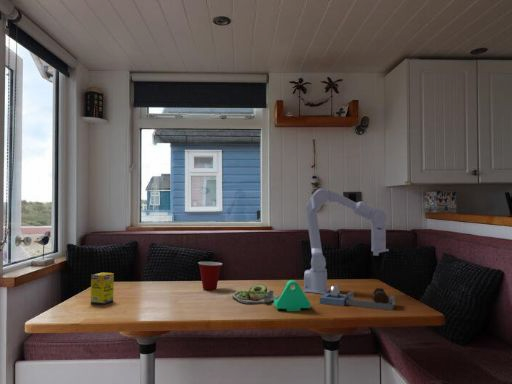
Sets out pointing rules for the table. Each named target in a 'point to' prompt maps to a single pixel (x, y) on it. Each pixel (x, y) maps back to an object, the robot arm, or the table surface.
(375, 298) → the bolt
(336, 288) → the grey metal cylinder
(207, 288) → the plastic cup
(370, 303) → the mount bracket
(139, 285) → the table surface
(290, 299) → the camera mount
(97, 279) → the supplement box
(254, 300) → the salad plate
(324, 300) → the socket
